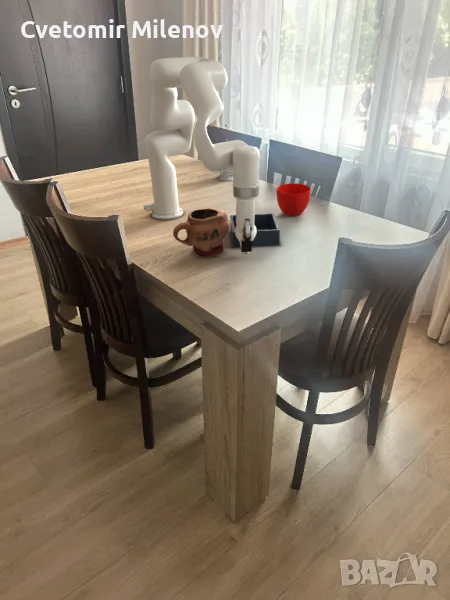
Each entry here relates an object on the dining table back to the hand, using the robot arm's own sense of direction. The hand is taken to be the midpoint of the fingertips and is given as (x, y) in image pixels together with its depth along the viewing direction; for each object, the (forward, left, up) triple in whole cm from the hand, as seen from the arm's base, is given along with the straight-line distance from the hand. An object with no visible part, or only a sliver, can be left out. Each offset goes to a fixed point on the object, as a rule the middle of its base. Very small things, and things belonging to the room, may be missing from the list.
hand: (245, 246), depth 139 cm
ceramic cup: (+22, +40, -5) cm, 46 cm away
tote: (+4, +17, -4) cm, 18 cm away
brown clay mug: (-13, +6, -5) cm, 15 cm away
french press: (-2, +91, -5) cm, 91 cm away
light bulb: (0, 0, -3) cm, 3 cm away
